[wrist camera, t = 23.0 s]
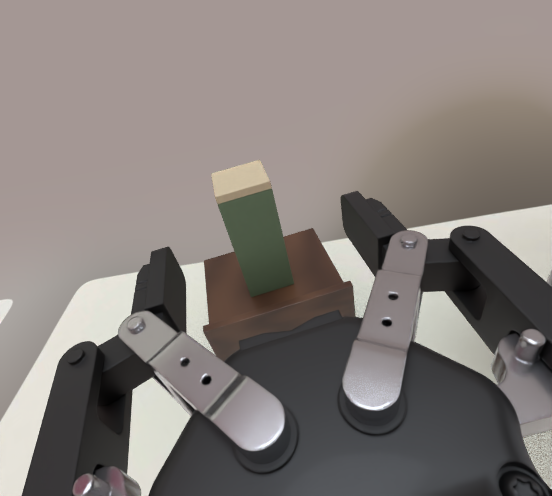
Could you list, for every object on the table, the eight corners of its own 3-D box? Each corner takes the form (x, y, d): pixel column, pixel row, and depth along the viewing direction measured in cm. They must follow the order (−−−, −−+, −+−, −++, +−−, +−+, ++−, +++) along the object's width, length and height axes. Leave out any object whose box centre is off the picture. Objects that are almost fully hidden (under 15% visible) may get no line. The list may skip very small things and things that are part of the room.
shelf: (322, 286, 52) (310, 214, 43) (359, 362, 41) (353, 285, 33) (228, 315, 51) (198, 247, 43) (240, 401, 40) (203, 332, 32)
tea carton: (283, 257, 41) (259, 159, 33) (294, 284, 37) (270, 180, 29) (244, 269, 41) (210, 173, 33) (251, 297, 37) (214, 196, 29)
